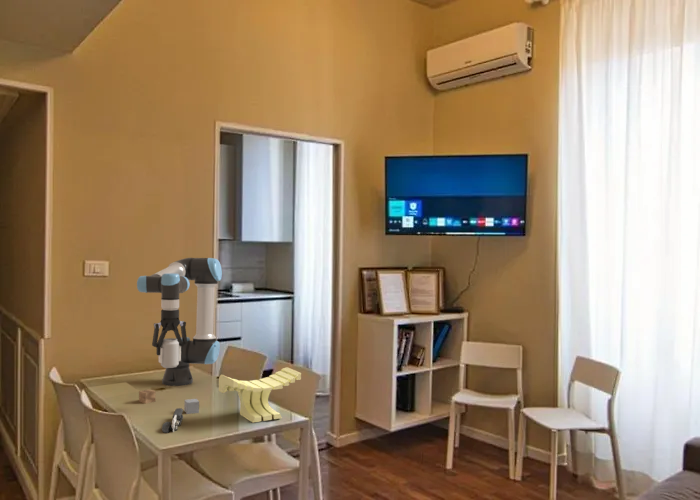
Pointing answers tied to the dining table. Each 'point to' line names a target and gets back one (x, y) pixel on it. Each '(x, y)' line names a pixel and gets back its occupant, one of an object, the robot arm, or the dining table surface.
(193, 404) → the slate grey block
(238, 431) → the dining table surface
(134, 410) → the dining table surface
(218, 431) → the dining table surface
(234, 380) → the slatted curved stool
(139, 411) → the dining table surface
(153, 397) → the walnut block
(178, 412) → the can opener
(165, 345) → the can
